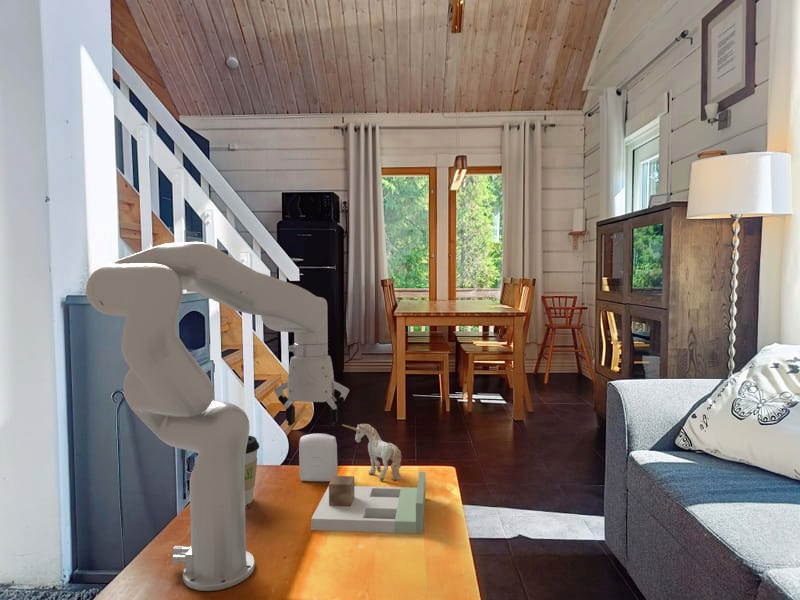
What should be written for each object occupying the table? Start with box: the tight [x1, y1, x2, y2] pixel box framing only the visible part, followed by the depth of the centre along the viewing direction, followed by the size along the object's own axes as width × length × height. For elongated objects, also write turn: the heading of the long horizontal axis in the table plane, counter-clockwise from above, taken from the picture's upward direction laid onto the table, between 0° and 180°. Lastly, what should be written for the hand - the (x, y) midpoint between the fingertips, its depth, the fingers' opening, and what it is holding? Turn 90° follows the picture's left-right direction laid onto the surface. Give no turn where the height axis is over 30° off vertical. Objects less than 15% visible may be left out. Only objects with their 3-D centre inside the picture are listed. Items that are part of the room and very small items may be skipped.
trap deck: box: [310, 471, 426, 535], centre depth 121 cm, size 24×18×6 cm
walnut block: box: [328, 475, 355, 506], centre depth 121 cm, size 5×5×5 cm
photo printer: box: [298, 433, 339, 482], centre depth 141 cm, size 10×4×12 cm, turn 85°
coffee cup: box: [245, 435, 260, 506], centre depth 127 cm, size 10×10×15 cm
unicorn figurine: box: [342, 423, 402, 482], centre depth 144 cm, size 7×20×13 cm, turn 55°
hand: (311, 424), depth 121 cm, fingers open, 9 cm apart
